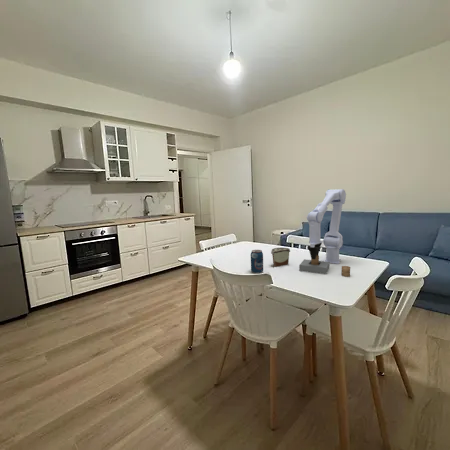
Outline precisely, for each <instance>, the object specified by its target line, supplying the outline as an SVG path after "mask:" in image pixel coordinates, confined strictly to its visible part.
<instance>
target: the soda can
mask: <svg viewBox="0 0 450 450" xmlns="http://www.w3.org/2000/svg"><path fill="white" fill-rule="evenodd" d="M250 270H251V272H252V273H253V274H260V273H263V271H264V253H263V251H262V250H261V249H252V250H251V253H250Z"/></svg>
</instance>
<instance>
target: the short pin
mask: <svg viewBox="0 0 450 450" xmlns="http://www.w3.org/2000/svg"><path fill="white" fill-rule="evenodd" d="M340 274H341V276H342V277H345V278H349V277H351V266H349V265H342V266H341V273H340Z"/></svg>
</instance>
